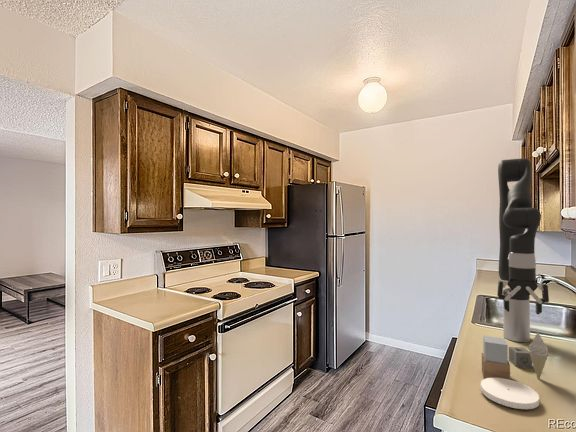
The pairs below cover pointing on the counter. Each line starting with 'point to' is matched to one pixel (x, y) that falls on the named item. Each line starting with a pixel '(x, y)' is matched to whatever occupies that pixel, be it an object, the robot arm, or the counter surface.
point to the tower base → (495, 369)
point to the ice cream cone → (538, 354)
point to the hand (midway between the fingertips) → (522, 312)
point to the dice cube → (520, 357)
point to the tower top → (495, 349)
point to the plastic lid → (509, 393)
